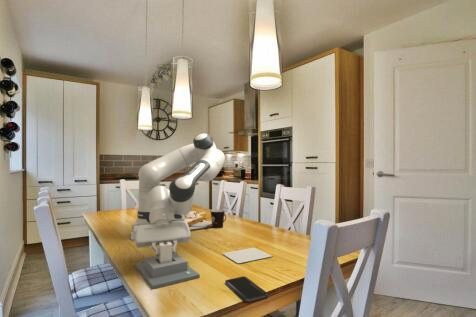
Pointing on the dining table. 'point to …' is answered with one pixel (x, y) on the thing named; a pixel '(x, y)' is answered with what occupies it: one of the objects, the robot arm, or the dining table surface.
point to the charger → (165, 252)
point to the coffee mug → (217, 218)
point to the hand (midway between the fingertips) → (165, 253)
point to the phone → (246, 289)
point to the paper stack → (246, 255)
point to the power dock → (167, 277)
